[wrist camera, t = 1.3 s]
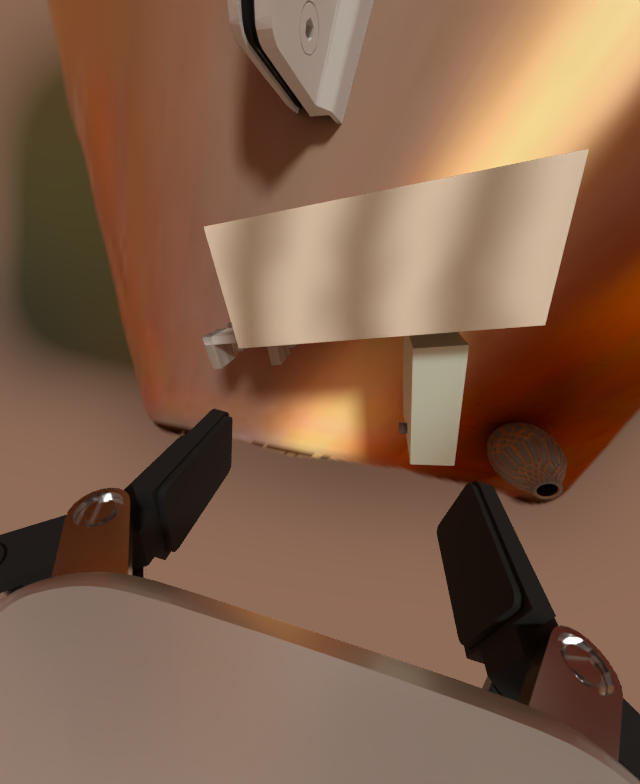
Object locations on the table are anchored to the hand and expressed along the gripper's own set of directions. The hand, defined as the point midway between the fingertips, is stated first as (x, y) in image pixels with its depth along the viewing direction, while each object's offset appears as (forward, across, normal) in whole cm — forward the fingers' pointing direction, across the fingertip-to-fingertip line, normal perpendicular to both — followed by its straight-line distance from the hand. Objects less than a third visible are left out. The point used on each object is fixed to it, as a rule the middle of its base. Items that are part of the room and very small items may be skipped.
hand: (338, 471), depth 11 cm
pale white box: (+23, -8, +3) cm, 25 cm away
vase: (+23, -21, +9) cm, 33 cm away
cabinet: (+23, +3, -4) cm, 24 cm away
